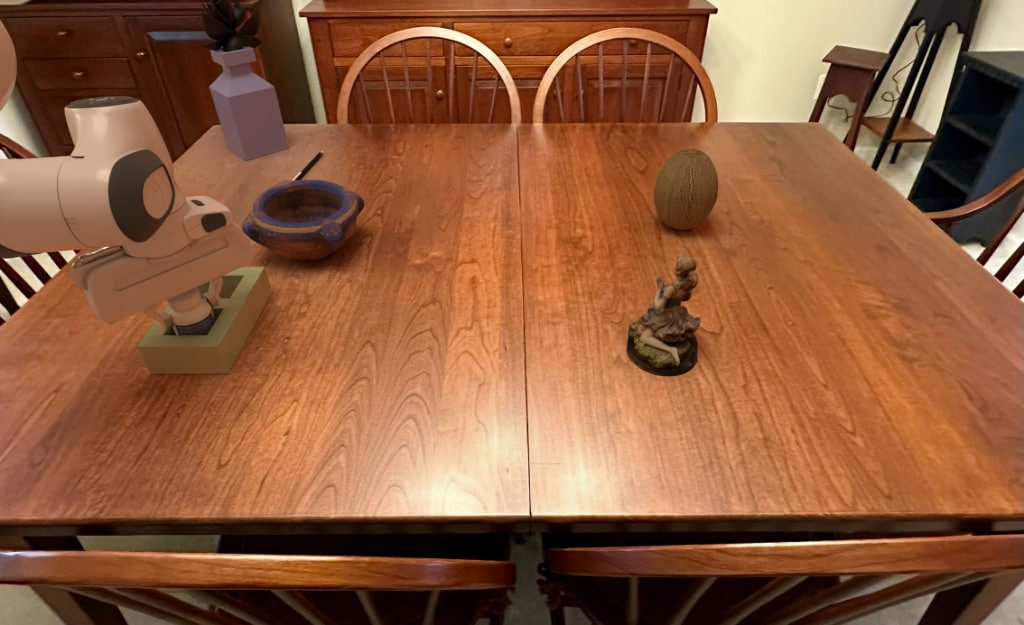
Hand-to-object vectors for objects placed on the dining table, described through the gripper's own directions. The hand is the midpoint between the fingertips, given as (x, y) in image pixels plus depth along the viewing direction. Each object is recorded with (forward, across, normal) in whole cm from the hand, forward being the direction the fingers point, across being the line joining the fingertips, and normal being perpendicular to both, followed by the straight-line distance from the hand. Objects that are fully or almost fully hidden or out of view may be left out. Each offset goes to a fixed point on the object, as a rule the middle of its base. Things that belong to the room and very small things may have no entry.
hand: (191, 315), depth 84 cm
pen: (+6, +44, +42) cm, 61 cm away
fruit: (+6, +77, -33) cm, 84 cm away
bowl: (+6, +26, +12) cm, 29 cm away
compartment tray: (+6, +3, +3) cm, 7 cm away
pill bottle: (+6, 0, 0) cm, 6 cm away
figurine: (+6, +44, -49) cm, 66 cm away
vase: (+6, +44, +61) cm, 76 cm away
